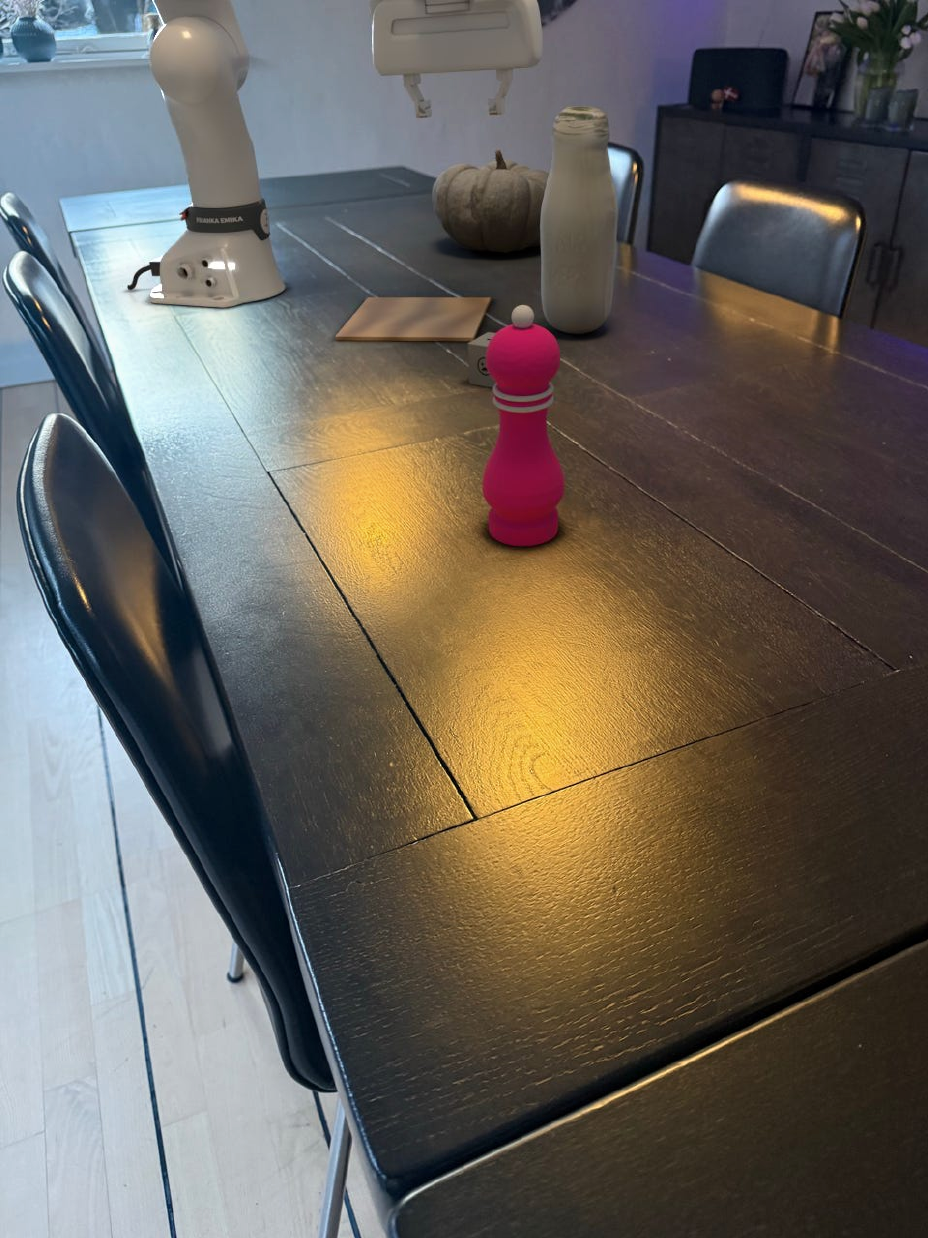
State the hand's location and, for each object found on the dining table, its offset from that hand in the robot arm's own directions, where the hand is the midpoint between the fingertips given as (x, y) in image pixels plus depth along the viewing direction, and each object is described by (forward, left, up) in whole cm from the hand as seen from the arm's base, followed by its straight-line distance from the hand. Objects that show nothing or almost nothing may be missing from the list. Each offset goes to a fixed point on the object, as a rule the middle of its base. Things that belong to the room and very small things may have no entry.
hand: (460, 115), depth 108 cm
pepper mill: (+12, -51, -28) cm, 59 cm away
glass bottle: (+14, +7, -28) cm, 33 cm away
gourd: (-3, +59, -28) cm, 66 cm away
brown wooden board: (-10, +12, -28) cm, 32 cm away
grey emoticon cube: (+5, -13, -28) cm, 31 cm away
